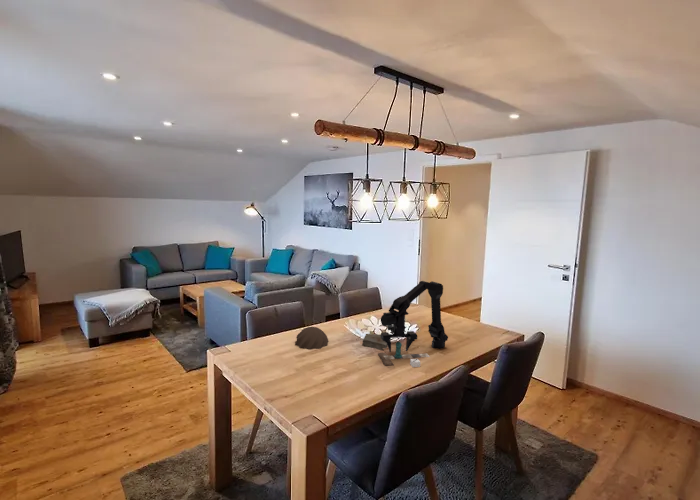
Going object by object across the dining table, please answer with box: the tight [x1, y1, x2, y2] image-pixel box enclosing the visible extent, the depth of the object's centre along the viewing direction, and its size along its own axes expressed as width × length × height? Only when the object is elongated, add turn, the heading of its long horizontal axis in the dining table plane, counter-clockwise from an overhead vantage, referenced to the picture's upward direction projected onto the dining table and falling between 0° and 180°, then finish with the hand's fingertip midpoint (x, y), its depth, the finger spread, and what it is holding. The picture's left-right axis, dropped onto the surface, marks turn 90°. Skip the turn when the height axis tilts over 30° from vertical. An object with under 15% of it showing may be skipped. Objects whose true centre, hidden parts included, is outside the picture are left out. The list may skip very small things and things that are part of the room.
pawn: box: [394, 341, 403, 359], centre depth 199 cm, size 4×4×8 cm
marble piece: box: [361, 333, 388, 351], centre depth 220 cm, size 17×15×4 cm
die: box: [409, 358, 421, 368], centre depth 190 cm, size 4×4×4 cm
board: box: [377, 351, 431, 367], centre depth 201 cm, size 28×14×1 cm, turn 101°
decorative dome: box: [294, 326, 330, 351], centre depth 220 cm, size 19×20×10 cm
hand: (398, 351), depth 200 cm, fingers open, 9 cm apart
